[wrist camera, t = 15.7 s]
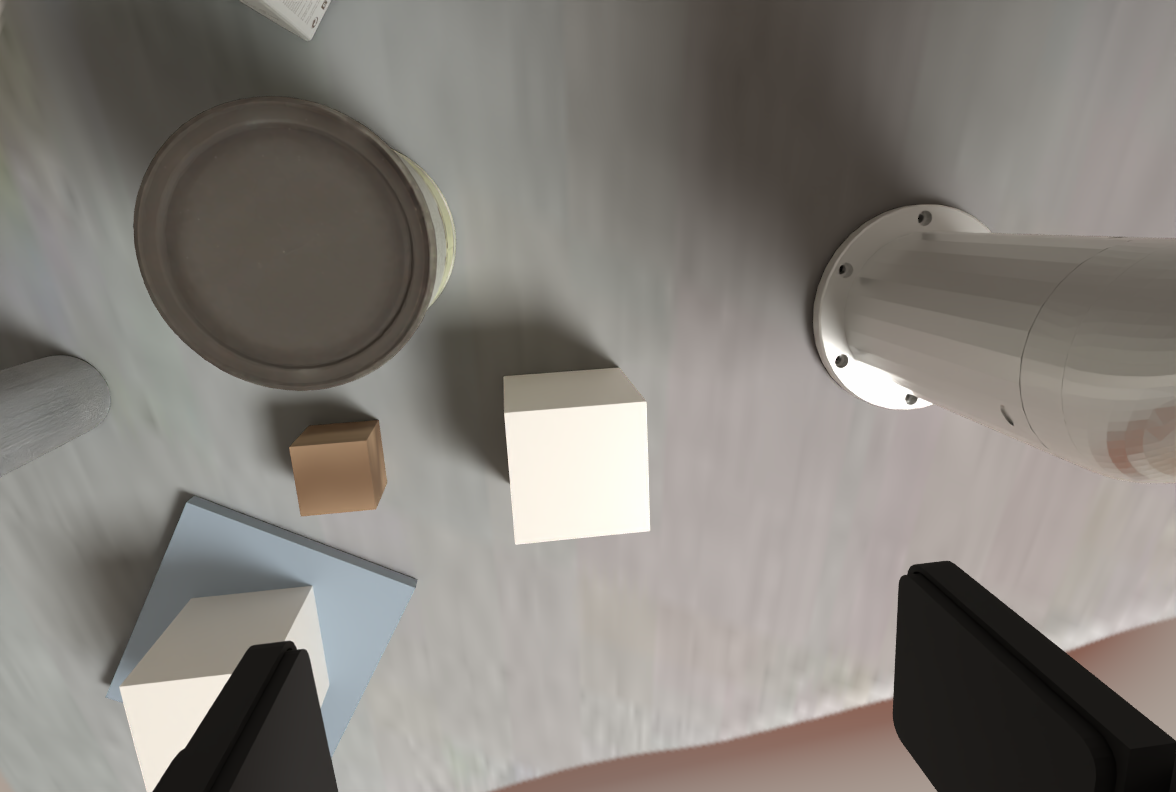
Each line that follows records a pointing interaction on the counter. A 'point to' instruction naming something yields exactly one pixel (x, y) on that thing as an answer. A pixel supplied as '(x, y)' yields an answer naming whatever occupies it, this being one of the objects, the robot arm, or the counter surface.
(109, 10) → the counter surface
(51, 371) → the grey cylinder
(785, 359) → the counter surface
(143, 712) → the white box
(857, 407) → the counter surface
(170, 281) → the coffee can
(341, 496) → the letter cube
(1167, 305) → the robot arm
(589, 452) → the plain white cube box
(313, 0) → the skincare box
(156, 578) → the slate board
